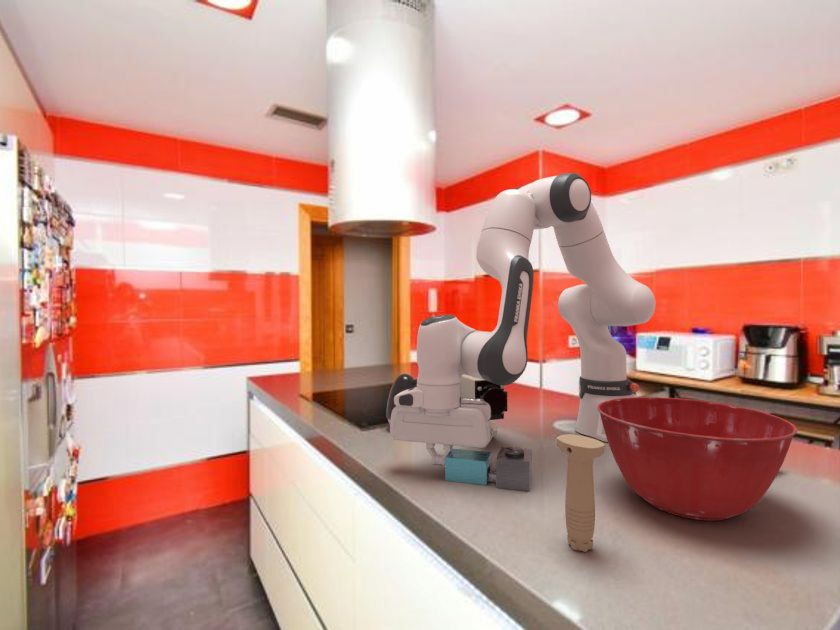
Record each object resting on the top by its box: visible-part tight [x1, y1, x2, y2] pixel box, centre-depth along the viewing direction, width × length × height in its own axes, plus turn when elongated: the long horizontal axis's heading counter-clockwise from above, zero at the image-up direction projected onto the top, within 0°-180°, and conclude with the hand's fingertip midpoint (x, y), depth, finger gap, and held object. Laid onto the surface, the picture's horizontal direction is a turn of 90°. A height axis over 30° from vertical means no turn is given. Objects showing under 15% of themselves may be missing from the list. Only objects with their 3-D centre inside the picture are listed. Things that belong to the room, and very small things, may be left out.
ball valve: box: [461, 374, 508, 442], centre depth 112 cm, size 18×8×18 cm, turn 19°
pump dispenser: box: [385, 373, 417, 425], centre depth 121 cm, size 10×10×15 cm
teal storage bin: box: [444, 447, 492, 486], centre depth 87 cm, size 8×6×4 cm
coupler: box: [487, 446, 533, 493], centre depth 86 cm, size 16×7×6 cm, turn 72°
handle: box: [556, 433, 605, 553], centre depth 62 cm, size 5×6×15 cm
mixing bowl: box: [597, 396, 798, 521], centre depth 76 cm, size 28×28×15 cm
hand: (439, 464), depth 89 cm, fingers closed
